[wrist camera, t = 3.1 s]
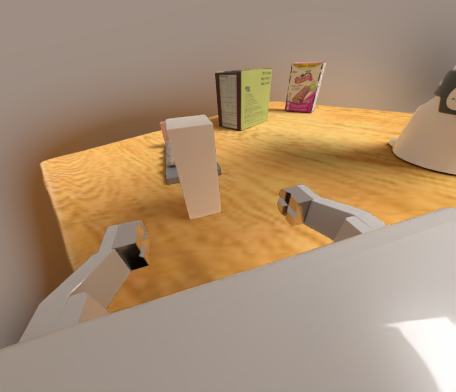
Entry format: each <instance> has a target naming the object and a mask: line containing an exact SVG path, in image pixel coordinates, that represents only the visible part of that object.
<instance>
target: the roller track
mask: <svg viewBox="0 0 456 392" xmlns="http://www.w3.org/2000/svg"><path fill="white" fill-rule="evenodd" d="M160 126H161V129H162V133H163V137H164V140H165V144H166V180H167V183H168V185H169V184H174V183H179V182H180V180H179V176H178V172H177V168H176V165H175V161H174V157H173V153H172V149H171V146H170V142H169V138H168V134H167V130H166V122H160ZM217 170H218V175H221V168H220V167H219V165H218V163H217Z"/></svg>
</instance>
